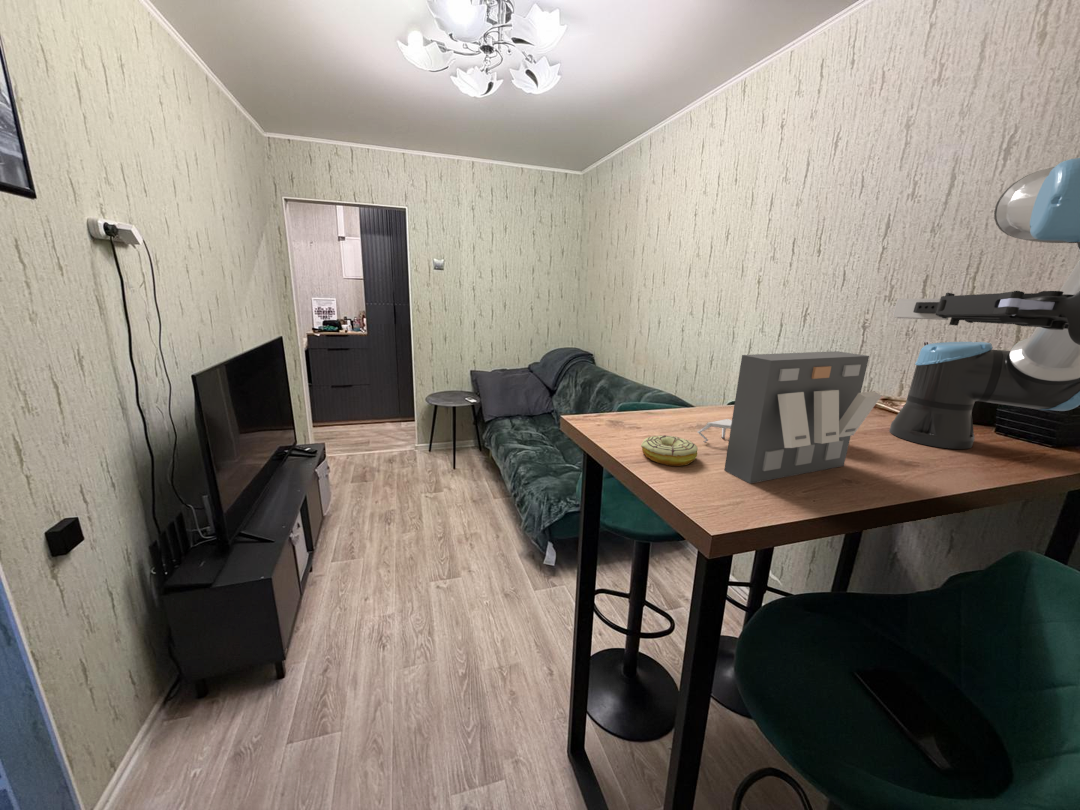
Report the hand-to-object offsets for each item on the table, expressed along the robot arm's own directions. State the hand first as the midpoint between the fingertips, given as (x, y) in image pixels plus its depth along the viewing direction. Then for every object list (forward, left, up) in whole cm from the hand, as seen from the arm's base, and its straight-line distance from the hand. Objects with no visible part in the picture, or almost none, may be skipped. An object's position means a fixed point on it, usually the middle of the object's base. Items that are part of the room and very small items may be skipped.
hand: (898, 308), depth 66 cm
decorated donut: (+29, -10, -31) cm, 44 cm away
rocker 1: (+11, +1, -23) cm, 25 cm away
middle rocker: (+4, -3, -23) cm, 24 cm away
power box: (+7, -9, -31) cm, 33 cm away
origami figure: (+16, -22, -31) cm, 41 cm away
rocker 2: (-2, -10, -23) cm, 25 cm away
